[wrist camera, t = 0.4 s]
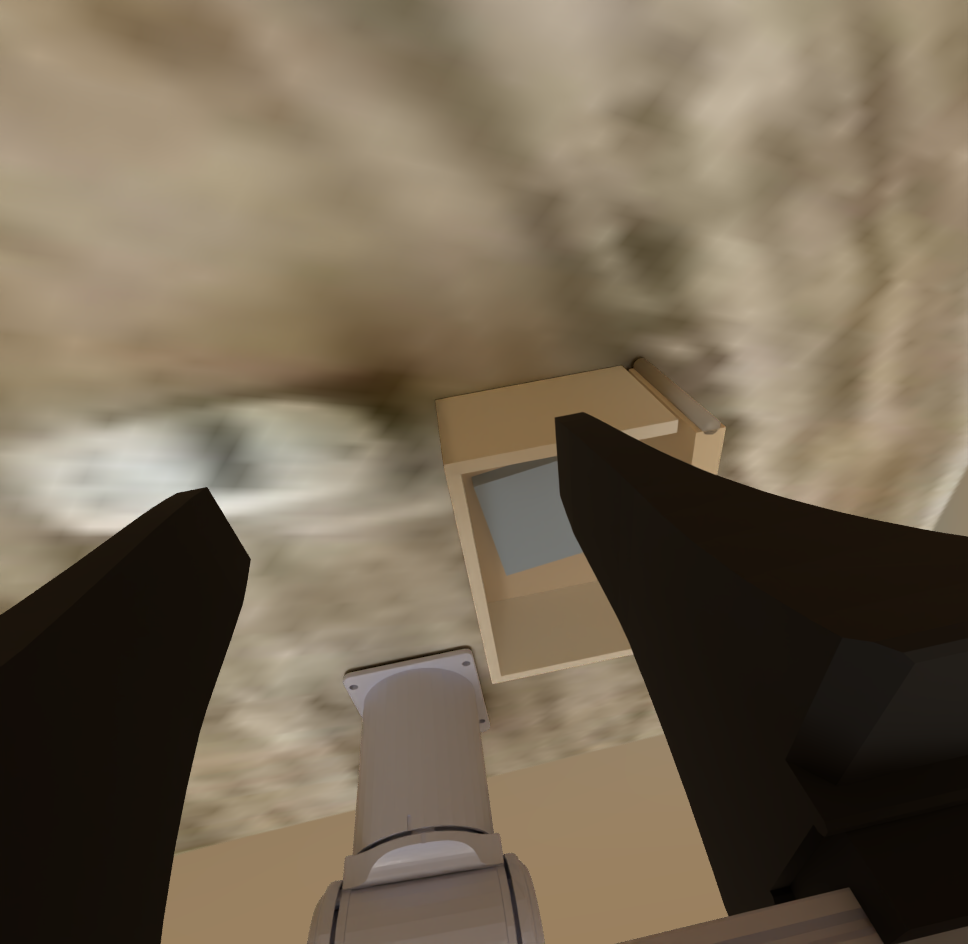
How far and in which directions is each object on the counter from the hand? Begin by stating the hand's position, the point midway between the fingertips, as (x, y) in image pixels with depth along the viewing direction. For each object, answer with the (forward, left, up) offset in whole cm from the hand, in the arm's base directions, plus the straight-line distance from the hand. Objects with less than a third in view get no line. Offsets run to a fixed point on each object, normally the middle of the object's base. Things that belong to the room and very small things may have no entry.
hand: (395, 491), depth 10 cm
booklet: (-9, -4, -9) cm, 14 cm away
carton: (-9, -5, -10) cm, 14 cm away
